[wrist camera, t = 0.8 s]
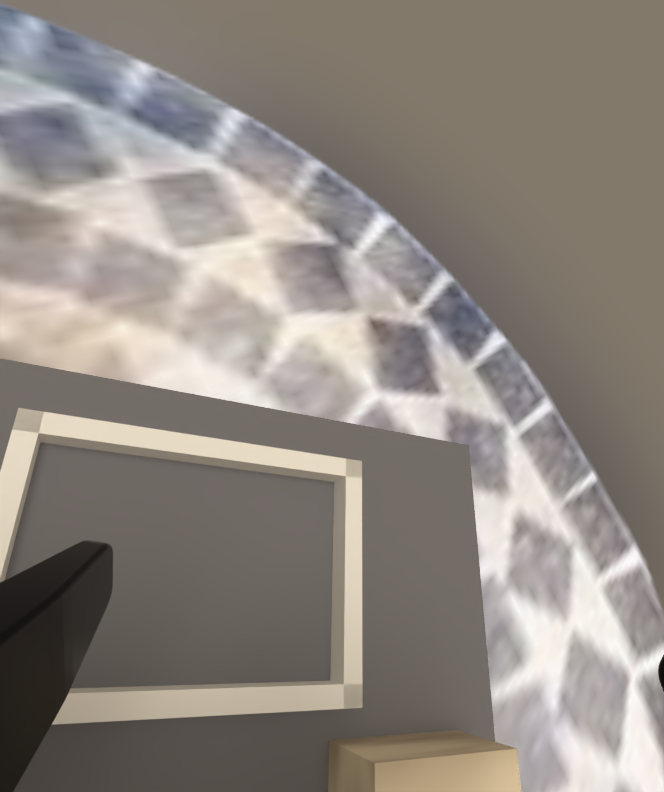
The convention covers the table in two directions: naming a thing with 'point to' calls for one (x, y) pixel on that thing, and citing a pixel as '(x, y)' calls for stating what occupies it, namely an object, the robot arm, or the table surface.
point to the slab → (422, 764)
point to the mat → (242, 583)
